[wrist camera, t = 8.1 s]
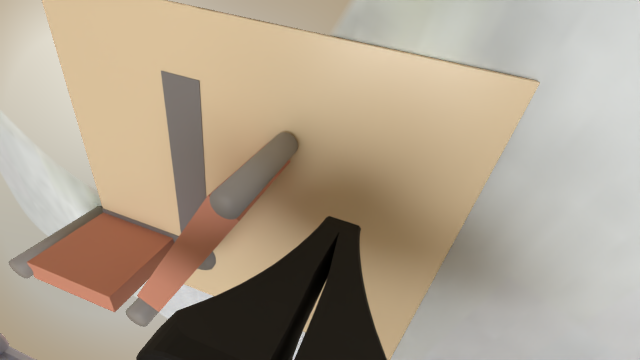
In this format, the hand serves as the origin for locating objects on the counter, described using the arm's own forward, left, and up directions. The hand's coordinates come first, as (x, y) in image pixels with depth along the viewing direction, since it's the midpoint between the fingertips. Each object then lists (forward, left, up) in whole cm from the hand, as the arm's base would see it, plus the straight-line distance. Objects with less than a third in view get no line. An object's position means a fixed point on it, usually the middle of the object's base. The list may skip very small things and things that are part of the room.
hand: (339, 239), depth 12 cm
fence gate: (+5, +1, -1) cm, 5 cm away
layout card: (+5, +1, -2) cm, 6 cm away
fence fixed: (+12, +6, -2) cm, 13 cm away
